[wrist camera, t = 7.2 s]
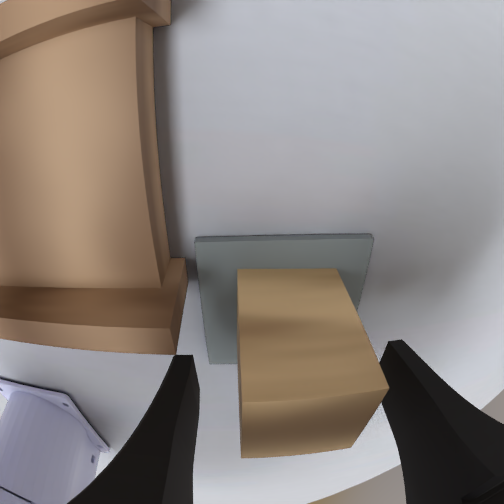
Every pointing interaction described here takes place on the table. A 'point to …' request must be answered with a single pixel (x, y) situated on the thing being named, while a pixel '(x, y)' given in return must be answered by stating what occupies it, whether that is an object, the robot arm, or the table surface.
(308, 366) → the oak block
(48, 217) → the tray
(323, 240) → the slate pad
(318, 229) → the table surface
